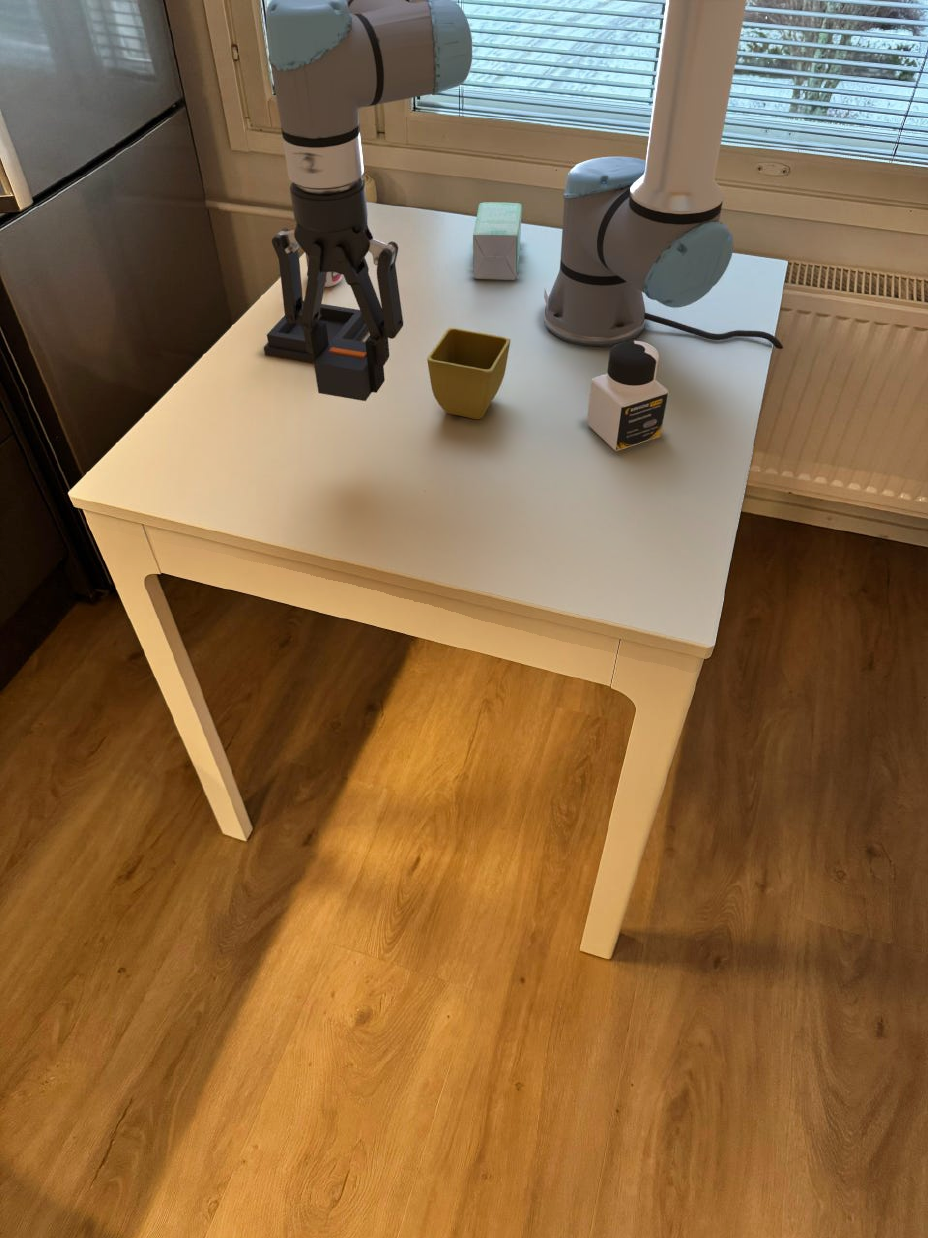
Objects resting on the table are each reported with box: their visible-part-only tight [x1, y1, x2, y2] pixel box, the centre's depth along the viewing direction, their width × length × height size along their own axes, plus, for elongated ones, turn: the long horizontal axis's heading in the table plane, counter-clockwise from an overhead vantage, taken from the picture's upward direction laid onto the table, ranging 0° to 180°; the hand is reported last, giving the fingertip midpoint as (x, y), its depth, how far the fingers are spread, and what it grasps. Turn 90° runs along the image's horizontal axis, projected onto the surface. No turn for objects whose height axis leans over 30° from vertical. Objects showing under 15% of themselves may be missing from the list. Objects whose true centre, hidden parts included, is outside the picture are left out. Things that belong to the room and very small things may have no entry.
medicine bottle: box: [586, 340, 669, 452], centre depth 116 cm, size 7×7×12 cm
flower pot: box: [426, 327, 511, 420], centre depth 121 cm, size 9×9×9 cm
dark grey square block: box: [313, 337, 373, 402], centre depth 107 cm, size 6×6×4 cm
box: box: [472, 201, 523, 281], centre depth 151 cm, size 7×14×8 cm, turn 175°
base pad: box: [263, 300, 369, 364], centre depth 136 cm, size 12×12×3 cm
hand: (351, 381), depth 108 cm, fingers closed on dark grey square block, 6 cm apart
